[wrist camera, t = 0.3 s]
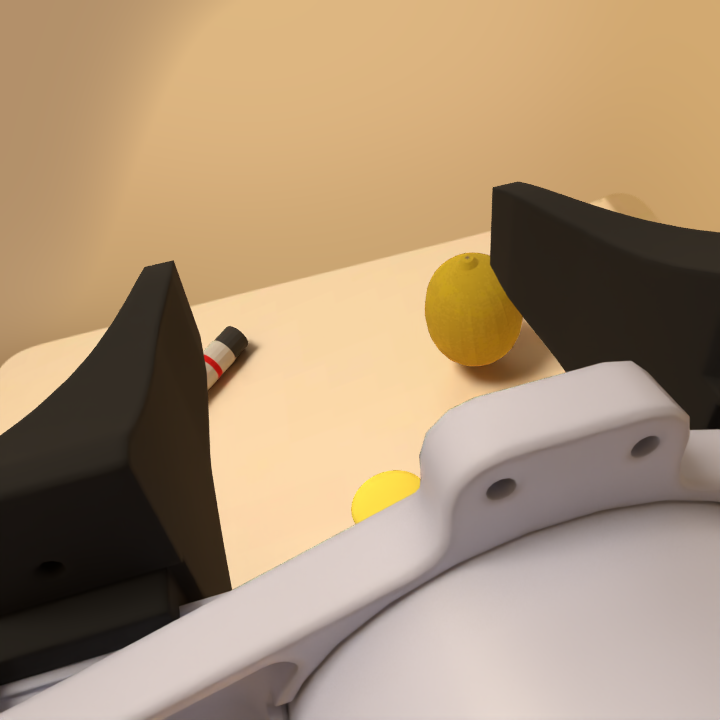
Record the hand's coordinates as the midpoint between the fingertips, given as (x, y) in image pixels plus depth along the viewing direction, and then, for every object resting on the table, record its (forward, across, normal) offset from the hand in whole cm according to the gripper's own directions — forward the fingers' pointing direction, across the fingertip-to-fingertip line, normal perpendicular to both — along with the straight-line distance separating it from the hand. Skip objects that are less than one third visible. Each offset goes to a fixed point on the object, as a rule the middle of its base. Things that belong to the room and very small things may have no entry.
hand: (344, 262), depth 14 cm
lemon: (+15, -10, +19) cm, 27 cm away
